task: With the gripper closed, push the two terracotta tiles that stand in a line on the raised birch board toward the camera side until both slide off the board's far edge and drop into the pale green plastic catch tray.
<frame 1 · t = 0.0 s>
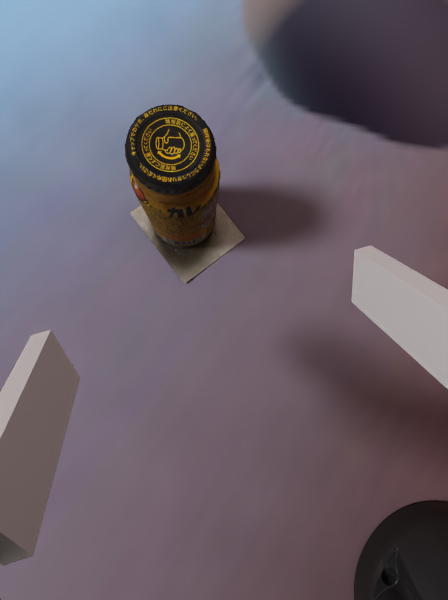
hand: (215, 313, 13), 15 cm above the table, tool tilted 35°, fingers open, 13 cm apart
condiment: (188, 227, 29), on the table
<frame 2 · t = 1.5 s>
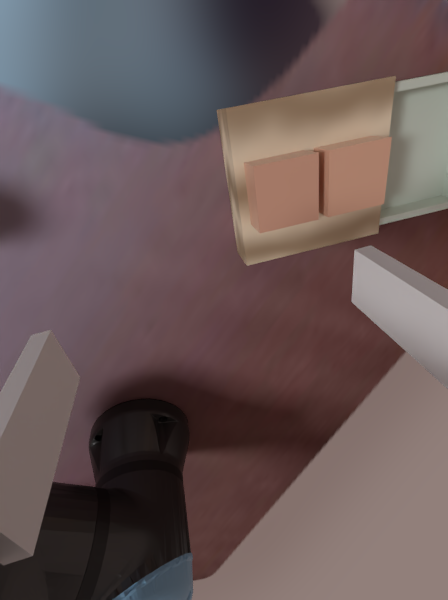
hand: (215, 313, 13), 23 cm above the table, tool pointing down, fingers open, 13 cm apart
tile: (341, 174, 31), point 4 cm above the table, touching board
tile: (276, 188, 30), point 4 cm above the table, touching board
board: (297, 174, 34), on the table
tray: (410, 149, 36), on the table
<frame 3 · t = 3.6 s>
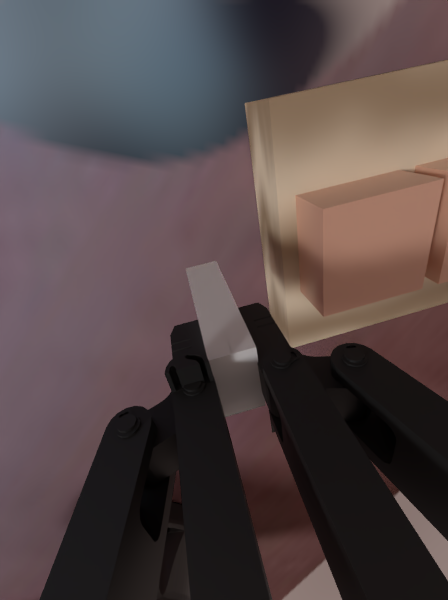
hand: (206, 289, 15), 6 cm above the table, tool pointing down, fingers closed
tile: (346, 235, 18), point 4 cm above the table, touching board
board: (367, 203, 22), on the table
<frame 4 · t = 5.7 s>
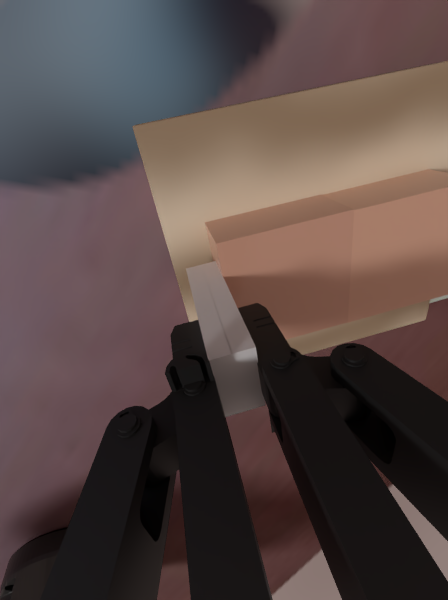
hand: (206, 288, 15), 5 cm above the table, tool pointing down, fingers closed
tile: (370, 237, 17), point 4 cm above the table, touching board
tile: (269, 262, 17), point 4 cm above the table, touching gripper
board: (291, 228, 20), on the table
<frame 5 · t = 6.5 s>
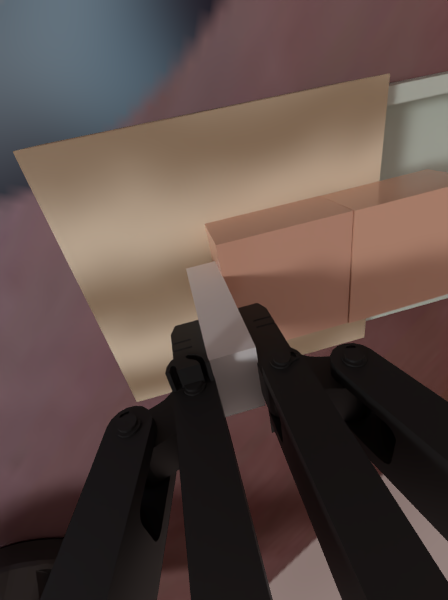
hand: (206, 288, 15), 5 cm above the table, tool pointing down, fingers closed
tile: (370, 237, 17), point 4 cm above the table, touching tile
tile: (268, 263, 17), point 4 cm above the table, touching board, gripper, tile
board: (223, 245, 20), on the table
tray: (418, 196, 21), on the table
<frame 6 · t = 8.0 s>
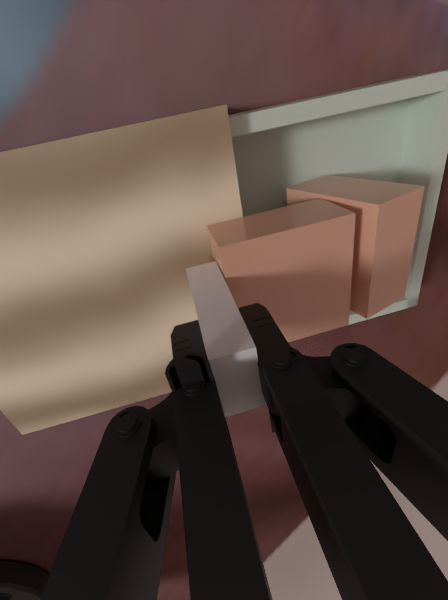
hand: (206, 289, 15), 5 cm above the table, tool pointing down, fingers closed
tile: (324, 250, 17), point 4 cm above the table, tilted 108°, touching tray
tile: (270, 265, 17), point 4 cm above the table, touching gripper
board: (111, 271, 19), on the table
tray: (319, 219, 20), on the table
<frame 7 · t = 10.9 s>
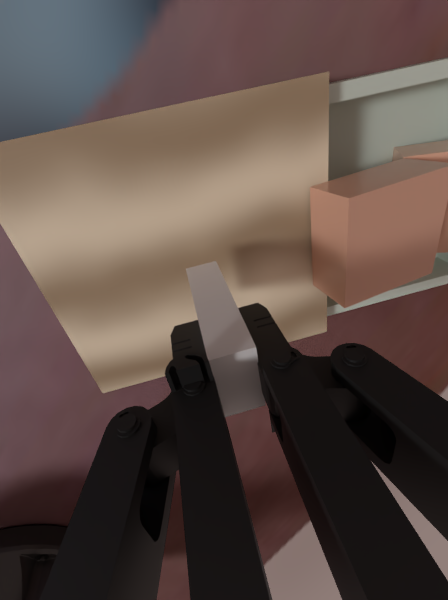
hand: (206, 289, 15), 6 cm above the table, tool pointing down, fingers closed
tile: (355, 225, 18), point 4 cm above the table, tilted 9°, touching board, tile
board: (185, 240, 20), on the table
tray: (381, 192, 21), on the table
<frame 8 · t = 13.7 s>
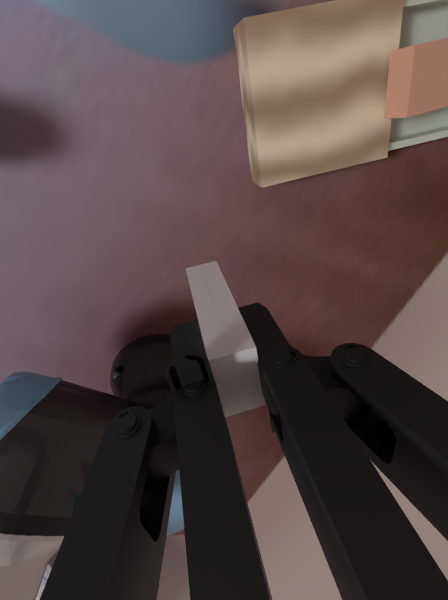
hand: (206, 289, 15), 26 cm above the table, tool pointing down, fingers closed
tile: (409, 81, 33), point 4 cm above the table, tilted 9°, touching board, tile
board: (309, 99, 36), on the table
tray: (418, 75, 37), on the table
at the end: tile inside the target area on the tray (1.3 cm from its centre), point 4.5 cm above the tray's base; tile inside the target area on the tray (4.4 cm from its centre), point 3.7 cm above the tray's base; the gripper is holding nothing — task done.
